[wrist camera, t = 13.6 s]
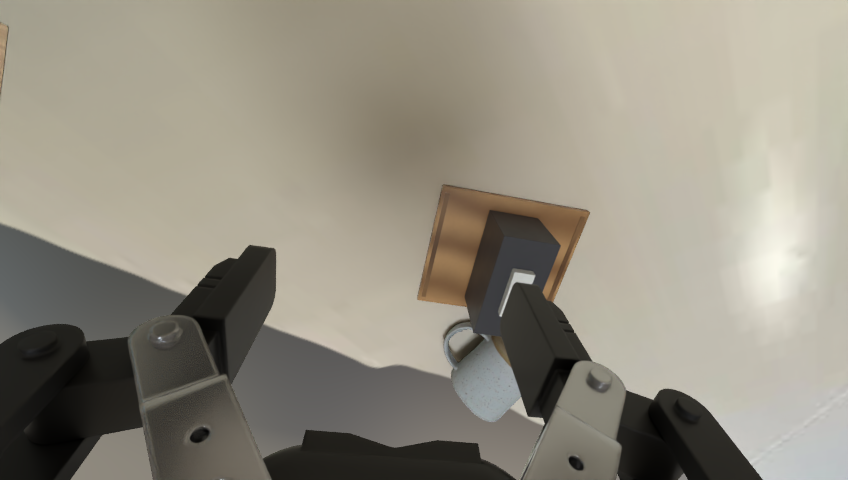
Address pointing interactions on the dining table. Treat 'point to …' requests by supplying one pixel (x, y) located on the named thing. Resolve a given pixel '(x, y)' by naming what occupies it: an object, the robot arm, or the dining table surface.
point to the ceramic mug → (484, 376)
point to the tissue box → (507, 266)
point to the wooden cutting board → (463, 232)
